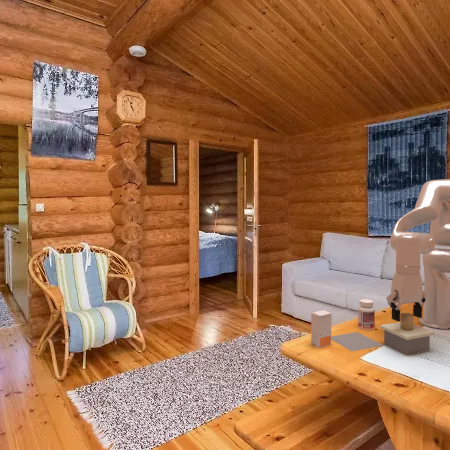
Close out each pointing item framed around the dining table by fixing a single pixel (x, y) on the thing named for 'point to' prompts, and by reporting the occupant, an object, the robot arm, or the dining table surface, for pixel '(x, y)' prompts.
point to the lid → (407, 328)
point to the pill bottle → (366, 315)
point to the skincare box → (321, 328)
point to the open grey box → (406, 343)
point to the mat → (355, 341)
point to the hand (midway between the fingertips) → (406, 318)
